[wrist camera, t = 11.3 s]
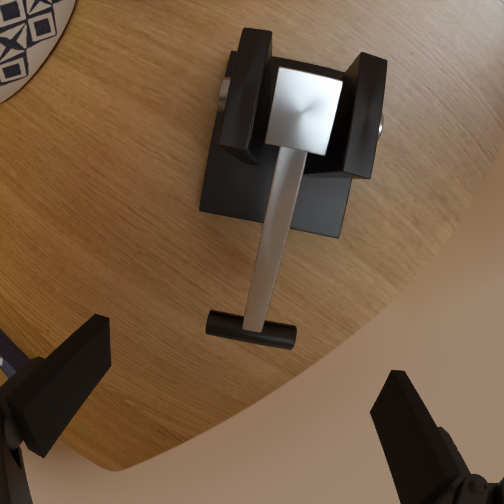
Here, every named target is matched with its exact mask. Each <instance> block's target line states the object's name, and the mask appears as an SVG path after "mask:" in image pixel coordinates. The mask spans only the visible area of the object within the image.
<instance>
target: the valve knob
mask: <svg viewBox="0 0 504 504" xmlns="http://www.w3.org/2000/svg"><path fill="white" fill-rule="evenodd" d="M7 380H8V377H7V376H6V374H5V373H4V371H3V370H2V369H1V368H0V386H1V385H3V384H4V383H5V382H6V381H7Z"/></svg>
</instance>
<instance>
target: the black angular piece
mask: <svg viewBox="0 0 504 504" xmlns="http://www.w3.org/2000/svg"><path fill="white" fill-rule="evenodd" d="M278 67H286V68H291V69H296V70H300V71H305V72H310V73H314V74H318V75H322V76H326V77H330V78H334V79H338V80H342V81H343V87H342V91H341V95H340V100H339V104H338V108H337V113H336V117H335V121H334V125H333V129H332V133H331V137H330V141H329V145H328V149H327V153H326V156H322V155H318V154H314V153H309V152H308V155H307V160H306V164H305V168H304V172H303V176H302V180H301V184H300V189H299V193H298V197H297V201H296V205H295V209H294V213H293V217H292V221H291V225H290V229H295V230H300V231H304V232H309V233H314V234H319V235H324V236H328V237H333V238H339V236H340V231H341V227H342V223H343V219H344V214H345V210H346V205H347V201H348V196H349V191H350V186H351V181H352V179H370V178H371V174H372V168H373V163H374V157H375V152H376V146H377V141H378V139H379V137H380V135H381V132H382V128H383V114H382V107H383V99H384V91H385V82H386V72H387V60H385V59H382V58H379V57H376V56H373V55H370V54H367V53H364V52H361V53H360V54H359V55H358V57H357V58H356V59H355V60H354V62H353V63H352V64H351V66H350V67H349V68H348V70H347V71H346V72H341V71H337V70H334V69H330V68H326V67H322V66H318V65H313V64H309V63H304V62H300V61H295V60H290V59H284V58H279V57H273V56H272V32H271V31H268V30H261V29H253V28H243V30H242V34H241V38H240V42H239V46H238V50H237V51H231V53H230V57H229V62H228V66H227V70H226V74H225V78H224V79H223V81H222V83H221V87H220V91H219V97H218V110H217V115H216V120H215V125H214V130H213V135H212V140H211V145H210V150H209V155H208V161H207V166H206V172H205V177H204V183H203V189H202V195H201V201H200V207H199V211H201V212H207V213H212V214H218V215H223V216H229V217H234V218H239V219H244V220H250V221H255V222H260V223H263V222H264V217H265V212H266V207H267V202H268V197H269V192H270V187H271V182H272V178H273V173H274V168H275V163H276V158H277V153H278V148H279V146H276V145H271V144H266V143H264V140H265V135H266V129H267V124H268V118H269V113H270V107H271V102H272V97H273V91H274V86H275V81H276V75H277V70H278Z"/></svg>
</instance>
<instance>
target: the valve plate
mask: <svg viewBox="0 0 504 504" xmlns="http://www.w3.org/2000/svg"><path fill="white" fill-rule="evenodd" d="M29 360H30V359H28V358H27V357H26V356H25V355H24V354H23V353H22V352H21V351H20V350H19V349H18V348H17V347H16V346H15V345H14V344H13V343H12V342H11V341H10V340H9V339H8V337H7V336H6V335H5V334H4V333H3V332H2V331H1V330H0V368H1V369H2V370H3V371H4V373H5V374H6V376H7V377H8V379H9V378H10V377H11V376H12V375H13V374H14V375H15V372H17V371H18V370H19V369H21V367H22V366H23V365H24V364H25V363H26V362H28V361H29Z"/></svg>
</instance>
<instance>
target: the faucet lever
mask: <svg viewBox="0 0 504 504" xmlns="http://www.w3.org/2000/svg"><path fill="white" fill-rule="evenodd" d="M342 87H343V81H342V80H338V79H334V78H330V77H326V76H322V75H318V74H314V73H310V72H305V71H300V70H296V69H291V68H286V67H278V70H277V75H276V81H275V86H274V91H273V97H272V102H271V107H270V113H269V118H268V124H267V129H266V135H265V140H264V143H266V144H271V145H276V146H279V148H278V153H277V158H276V163H275V168H274V173H273V178H272V182H271V187H270V192H269V197H268V202H267V207H266V212H265V217H264V222H263V227H262V232H261V237H260V241H259V246H258V251H257V256H256V261H255V266H254V271H253V275H252V280H251V285H250V290H249V295H248V300H247V304H246V309H245V314H244V316H240V315H235V314H230V313H225V312H220V311H215V310H210V312H209V315H208V318H207V323H206V334H208V335H213V336H218V337H222V338H227V339H232V340H237V341H243V342H248V343H253V344H259V345H264V346H270V347H276V348H282V349H289V350H291V349H292V348H293V347H294V344H295V340H296V335H297V328H296V326H295V325H289V324H283V323H278V322H272V321H266V320H265V318H266V314H267V311H268V307H269V304H270V300H271V296H272V293H273V289H274V285H275V282H276V278H277V274H278V271H279V267H280V263H281V259H282V255H283V252H284V248H285V244H286V240H287V236H288V232H289V228H290V225H291V221H292V217H293V213H294V209H295V205H296V201H297V197H298V193H299V189H300V184H301V180H302V176H303V172H304V168H305V164H306V160H307V155H308V152H309V153H314V154H318V155H322V156H326V153H327V149H328V145H329V141H330V137H331V133H332V129H333V125H334V121H335V117H336V113H337V108H338V104H339V100H340V95H341V91H342Z"/></svg>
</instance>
